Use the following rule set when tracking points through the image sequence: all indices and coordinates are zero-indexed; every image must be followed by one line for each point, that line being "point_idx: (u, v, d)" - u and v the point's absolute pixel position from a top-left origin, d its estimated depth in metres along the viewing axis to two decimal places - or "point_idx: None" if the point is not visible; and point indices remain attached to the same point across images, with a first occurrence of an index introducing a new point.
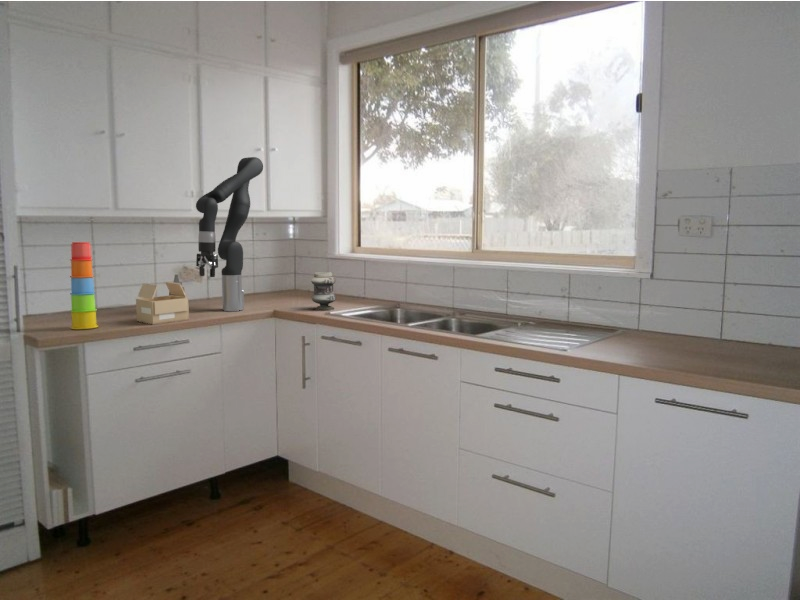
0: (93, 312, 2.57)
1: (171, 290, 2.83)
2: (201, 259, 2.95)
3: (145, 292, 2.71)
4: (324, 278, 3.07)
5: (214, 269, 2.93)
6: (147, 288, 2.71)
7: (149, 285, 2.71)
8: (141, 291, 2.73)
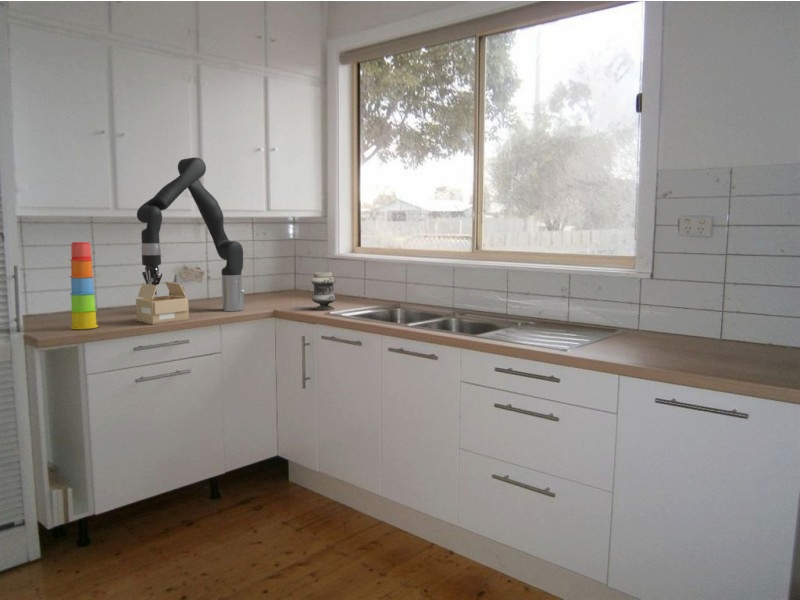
0: (93, 312, 2.57)
1: (171, 290, 2.83)
2: (147, 273, 2.70)
3: (145, 292, 2.71)
4: (324, 278, 3.07)
5: None
6: (147, 288, 2.70)
7: (149, 285, 2.70)
8: (141, 291, 2.73)
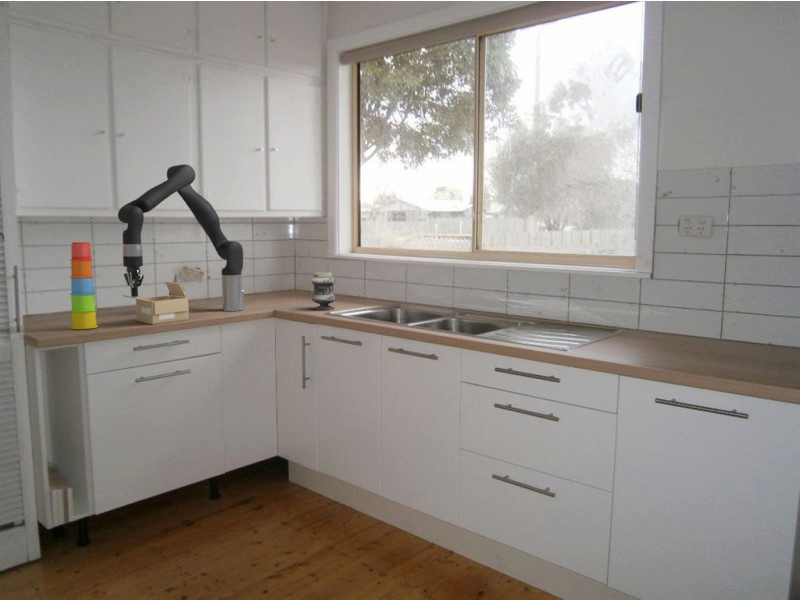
0: (93, 312, 2.57)
1: (171, 290, 2.83)
2: (128, 275, 2.64)
3: None
4: (324, 278, 3.07)
5: (137, 288, 2.65)
6: None
7: (130, 297, 2.65)
8: None
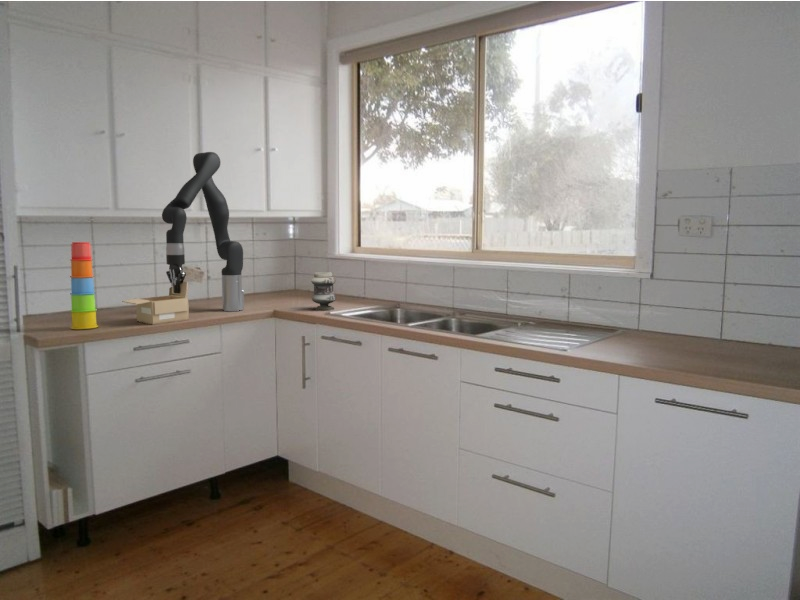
0: (93, 312, 2.57)
1: None
2: (171, 273, 2.79)
3: (136, 301, 2.68)
4: (324, 278, 3.07)
5: (179, 285, 2.80)
6: (132, 302, 2.66)
7: None
8: (132, 300, 2.70)
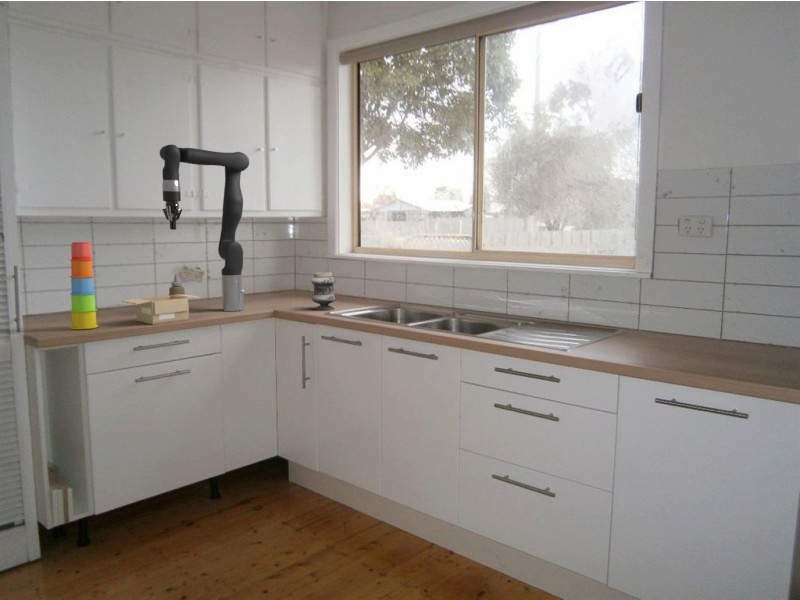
0: (93, 312, 2.57)
1: None
2: (167, 209, 2.86)
3: (136, 301, 2.68)
4: (324, 278, 3.07)
5: (175, 221, 2.87)
6: (132, 302, 2.66)
7: None
8: (132, 300, 2.70)
